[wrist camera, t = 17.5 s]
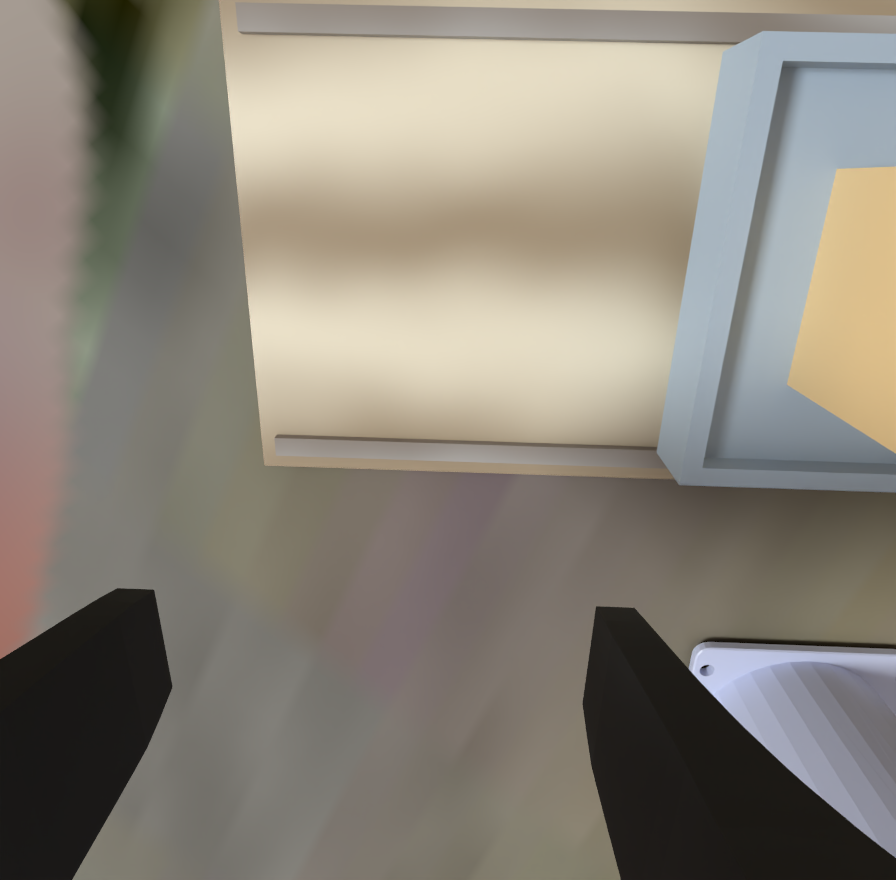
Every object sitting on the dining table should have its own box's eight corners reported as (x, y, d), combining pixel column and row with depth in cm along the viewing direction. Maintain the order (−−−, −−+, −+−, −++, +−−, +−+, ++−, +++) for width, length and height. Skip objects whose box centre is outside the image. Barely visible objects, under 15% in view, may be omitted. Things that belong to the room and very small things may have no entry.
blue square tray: (973, 446, 19) (1072, 498, 16) (644, 435, 19) (679, 485, 16) (1114, 70, 15) (1281, 41, 12) (702, 61, 15) (762, 31, 12)
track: (1040, 486, 20) (1111, 524, 18) (267, 460, 20) (244, 493, 18) (1247, 5, 15) (1381, -25, 13) (222, -15, 16) (181, -48, 13)
